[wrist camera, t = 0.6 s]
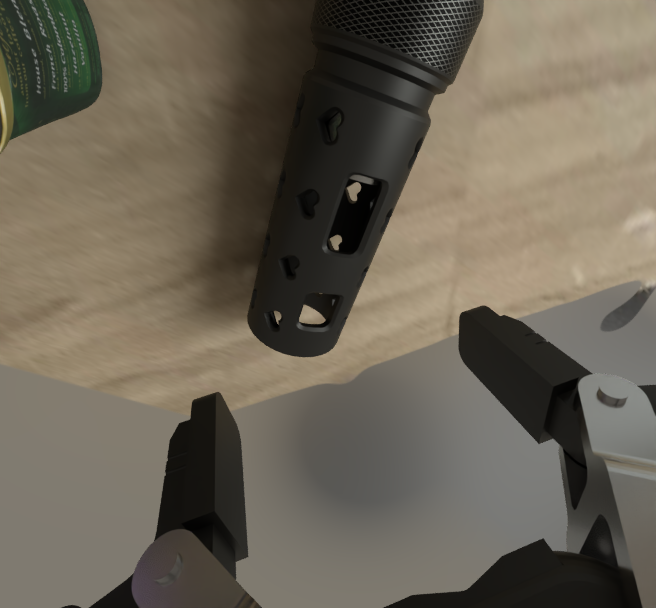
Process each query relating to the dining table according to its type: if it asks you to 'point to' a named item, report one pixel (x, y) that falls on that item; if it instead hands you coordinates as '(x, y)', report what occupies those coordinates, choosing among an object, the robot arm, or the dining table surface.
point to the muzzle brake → (351, 156)
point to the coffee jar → (45, 63)
